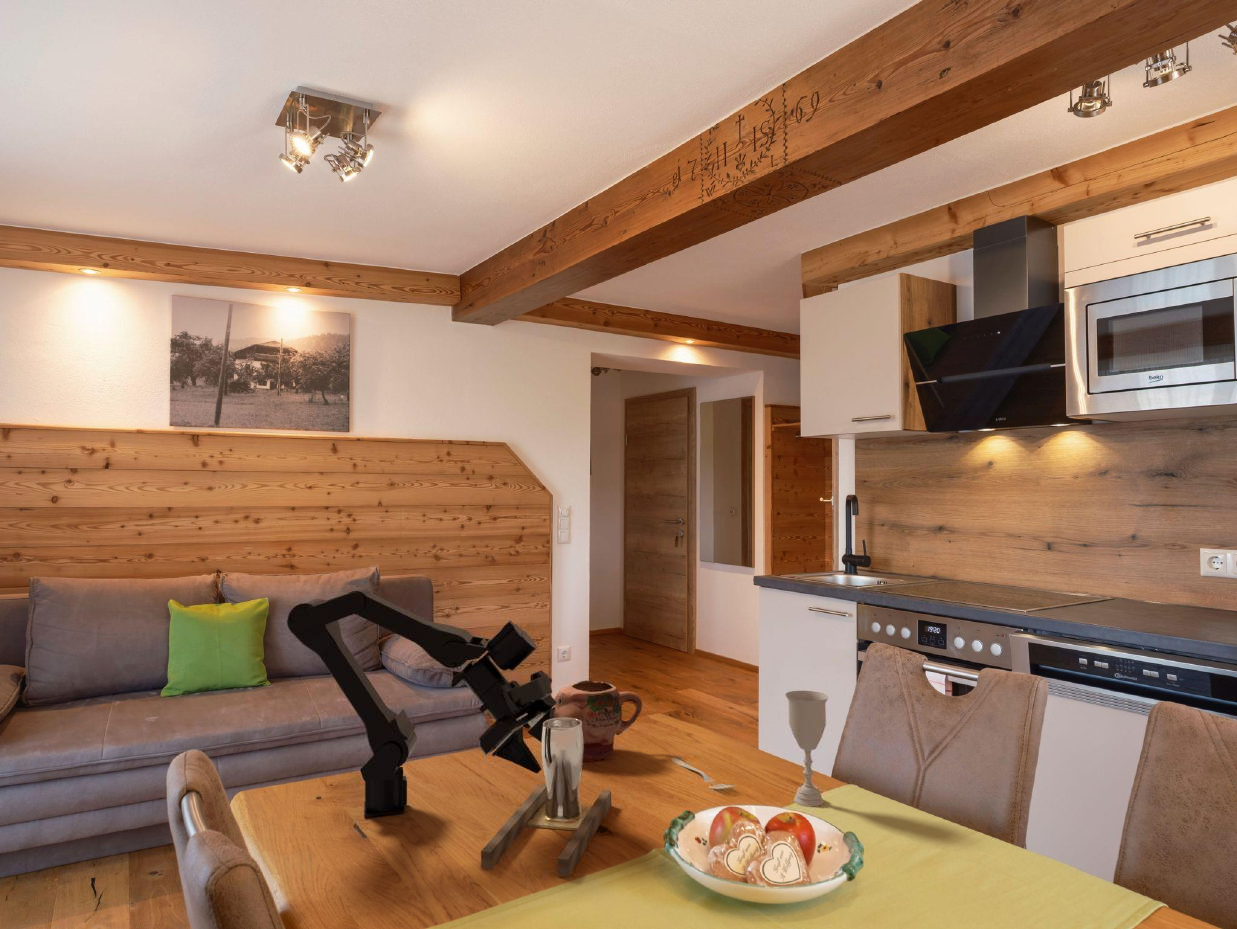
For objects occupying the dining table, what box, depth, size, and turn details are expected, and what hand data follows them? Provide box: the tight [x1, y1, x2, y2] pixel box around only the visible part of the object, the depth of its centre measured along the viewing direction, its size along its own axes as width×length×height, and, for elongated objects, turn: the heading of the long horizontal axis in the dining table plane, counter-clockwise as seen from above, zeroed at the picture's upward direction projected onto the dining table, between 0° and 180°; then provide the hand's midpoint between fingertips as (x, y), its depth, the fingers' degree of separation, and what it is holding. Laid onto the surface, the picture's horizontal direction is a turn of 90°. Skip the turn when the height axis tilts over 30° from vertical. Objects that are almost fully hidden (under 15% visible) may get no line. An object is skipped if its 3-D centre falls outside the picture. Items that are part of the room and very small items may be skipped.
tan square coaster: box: [526, 802, 593, 832], centre depth 132 cm, size 9×10×1 cm
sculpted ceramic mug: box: [552, 680, 643, 762], centre depth 164 cm, size 20×12×14 cm, turn 113°
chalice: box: [785, 690, 829, 807], centre depth 138 cm, size 7×7×18 cm
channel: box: [480, 784, 612, 878], centre depth 125 cm, size 26×13×2 cm, turn 167°
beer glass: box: [541, 717, 584, 822], centre depth 132 cm, size 7×7×15 cm
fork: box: [671, 757, 737, 790], centre depth 152 cm, size 3×24×2 cm, turn 25°
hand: (551, 762), depth 132 cm, fingers open, 9 cm apart
